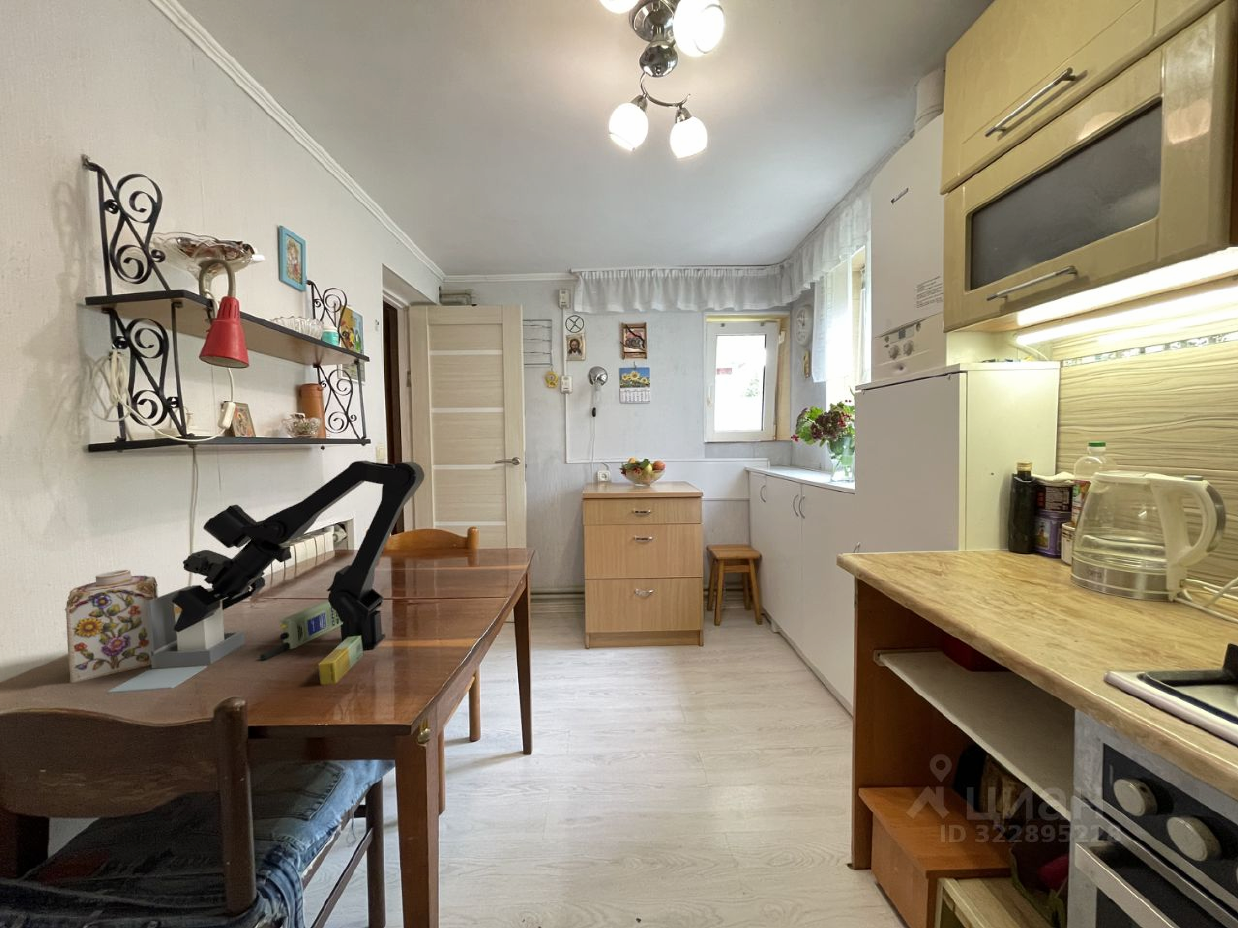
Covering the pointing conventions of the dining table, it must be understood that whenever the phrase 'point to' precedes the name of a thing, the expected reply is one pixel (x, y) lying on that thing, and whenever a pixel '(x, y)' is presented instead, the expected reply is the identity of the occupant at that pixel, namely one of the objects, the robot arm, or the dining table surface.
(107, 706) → the dining table surface
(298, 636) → the handheld radio
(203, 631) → the block
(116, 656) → the decorative jar
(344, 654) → the medication box
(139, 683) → the pad
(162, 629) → the case
